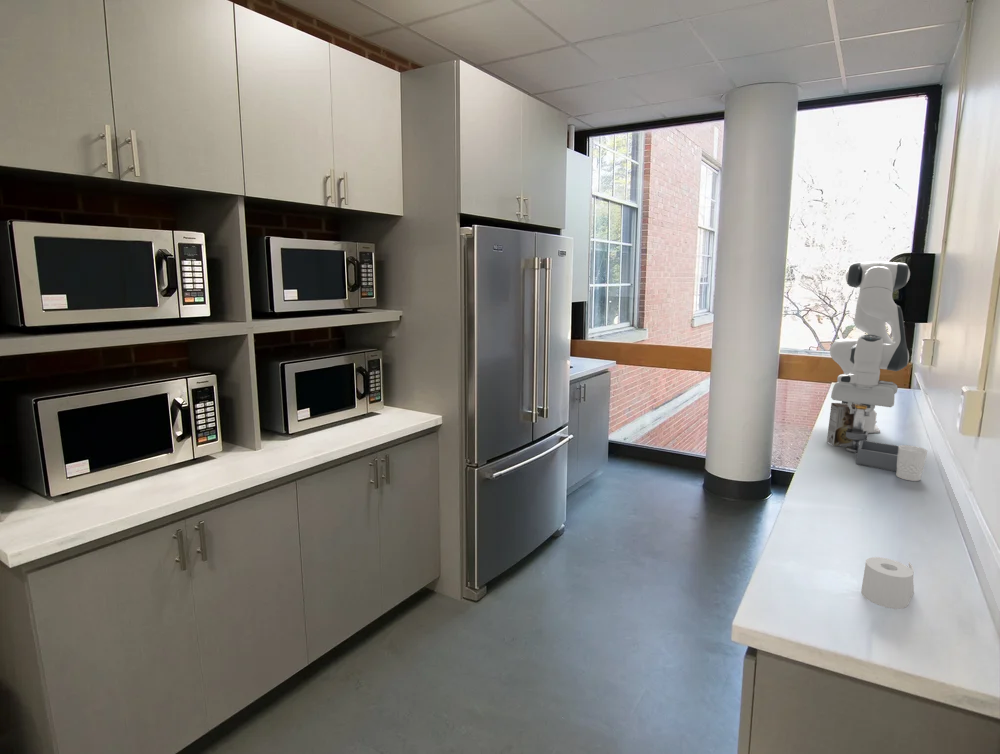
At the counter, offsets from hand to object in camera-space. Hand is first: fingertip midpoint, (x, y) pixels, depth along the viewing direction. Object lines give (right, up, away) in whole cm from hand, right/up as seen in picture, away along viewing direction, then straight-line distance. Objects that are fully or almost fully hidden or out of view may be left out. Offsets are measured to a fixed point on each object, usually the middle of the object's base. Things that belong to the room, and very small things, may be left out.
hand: (859, 415), depth 219 cm
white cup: (0, -19, -25) cm, 32 cm away
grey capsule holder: (0, -14, +3) cm, 14 cm away
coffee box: (0, -13, +11) cm, 17 cm away
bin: (+1, -17, -11) cm, 20 cm away
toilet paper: (-54, -32, -99) cm, 117 cm away
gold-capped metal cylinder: (0, -8, +2) cm, 8 cm away
